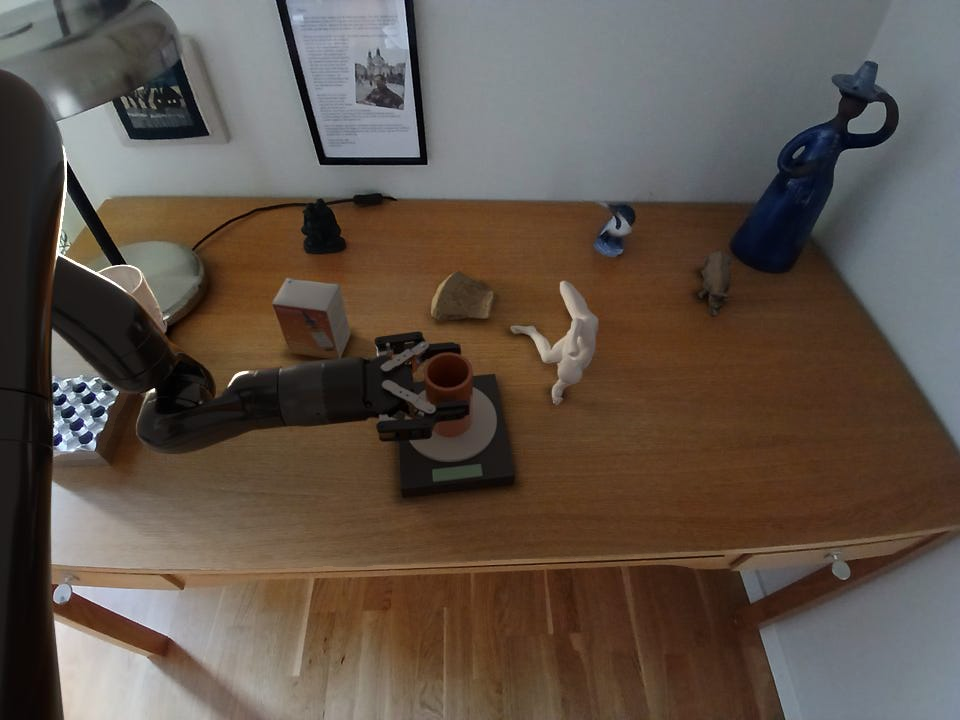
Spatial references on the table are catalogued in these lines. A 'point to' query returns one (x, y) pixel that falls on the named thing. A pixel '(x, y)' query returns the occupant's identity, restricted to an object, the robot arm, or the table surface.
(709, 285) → the rhino figurine
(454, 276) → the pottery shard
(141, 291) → the white cup
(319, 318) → the small box
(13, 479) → the robot arm
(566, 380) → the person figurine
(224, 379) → the table surface
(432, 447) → the scale
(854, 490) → the table surface
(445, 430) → the cup
